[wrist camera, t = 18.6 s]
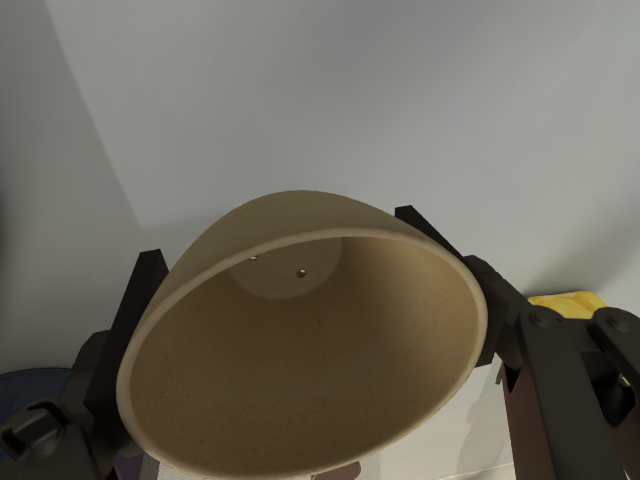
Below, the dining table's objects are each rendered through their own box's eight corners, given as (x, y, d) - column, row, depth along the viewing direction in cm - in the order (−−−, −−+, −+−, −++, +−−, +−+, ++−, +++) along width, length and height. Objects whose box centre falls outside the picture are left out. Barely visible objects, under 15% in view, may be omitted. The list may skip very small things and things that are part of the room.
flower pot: (278, 355, 19) (300, 506, 13) (108, 251, 14) (15, 429, 8) (427, 244, 17) (533, 361, 11) (299, 72, 12) (371, 124, 6)
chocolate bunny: (502, 288, 31) (686, 460, 19) (596, 281, 34) (812, 429, 21) (477, 341, 34) (618, 518, 22) (564, 332, 37) (735, 485, 25)
